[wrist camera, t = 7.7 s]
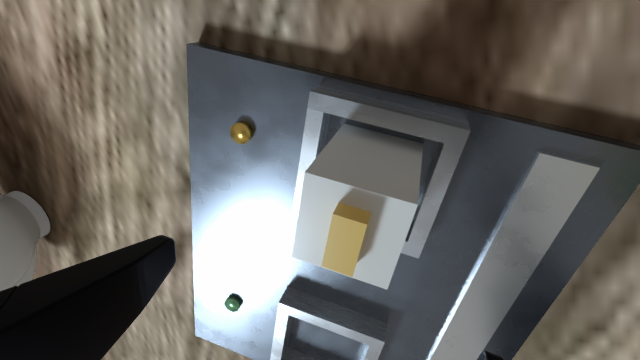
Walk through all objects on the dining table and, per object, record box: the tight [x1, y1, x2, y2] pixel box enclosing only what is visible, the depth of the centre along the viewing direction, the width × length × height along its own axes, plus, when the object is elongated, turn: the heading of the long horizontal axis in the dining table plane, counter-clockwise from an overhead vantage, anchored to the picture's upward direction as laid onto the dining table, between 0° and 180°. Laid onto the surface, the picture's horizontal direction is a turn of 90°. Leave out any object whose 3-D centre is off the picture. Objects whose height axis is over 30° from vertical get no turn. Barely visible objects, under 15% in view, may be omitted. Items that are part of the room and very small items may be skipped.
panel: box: [187, 42, 640, 360], centre depth 21 cm, size 22×24×2 cm
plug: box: [292, 124, 423, 290], centre depth 15 cm, size 4×4×7 cm
